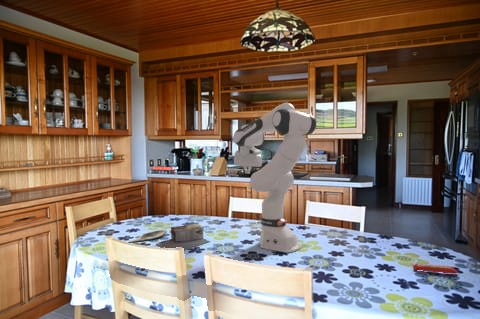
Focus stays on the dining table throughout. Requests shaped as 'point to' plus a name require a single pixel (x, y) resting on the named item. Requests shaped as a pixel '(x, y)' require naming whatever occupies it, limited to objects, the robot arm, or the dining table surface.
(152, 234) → the spoon
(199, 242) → the rubber mat
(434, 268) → the sausage
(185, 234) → the coffee box
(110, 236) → the dining table surface
